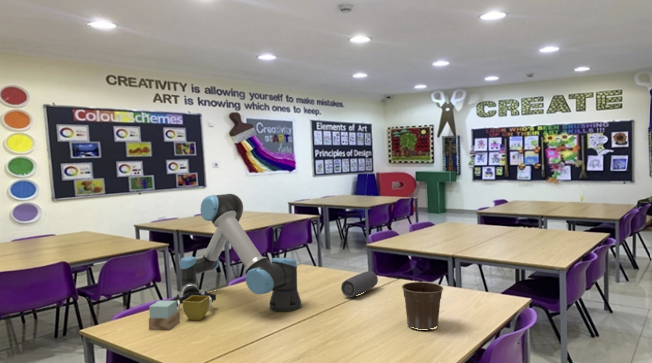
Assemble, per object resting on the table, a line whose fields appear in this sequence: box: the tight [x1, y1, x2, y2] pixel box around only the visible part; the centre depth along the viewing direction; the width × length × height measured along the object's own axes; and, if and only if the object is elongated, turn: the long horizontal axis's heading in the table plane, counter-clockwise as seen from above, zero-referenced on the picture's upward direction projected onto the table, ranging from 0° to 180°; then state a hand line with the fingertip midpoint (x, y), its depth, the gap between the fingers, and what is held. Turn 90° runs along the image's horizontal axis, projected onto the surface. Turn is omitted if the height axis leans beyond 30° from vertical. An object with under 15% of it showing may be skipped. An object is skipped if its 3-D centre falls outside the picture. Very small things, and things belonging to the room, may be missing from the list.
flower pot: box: [182, 296, 210, 321], centre depth 197 cm, size 9×9×9 cm
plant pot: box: [401, 281, 444, 329], centre depth 180 cm, size 16×16×16 cm
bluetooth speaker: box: [340, 270, 379, 298], centre depth 228 cm, size 23×9×10 cm, turn 144°
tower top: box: [148, 300, 178, 319], centre depth 188 cm, size 8×8×5 cm
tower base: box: [148, 311, 180, 331], centre depth 188 cm, size 9×9×5 cm
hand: (195, 305), depth 197 cm, fingers open, 13 cm apart
